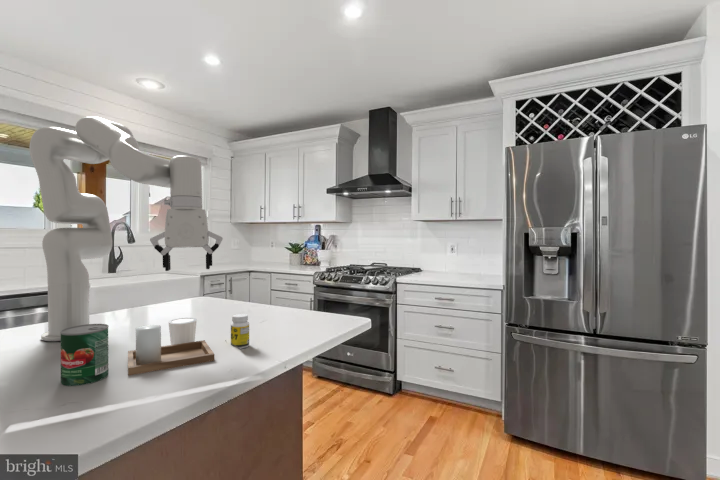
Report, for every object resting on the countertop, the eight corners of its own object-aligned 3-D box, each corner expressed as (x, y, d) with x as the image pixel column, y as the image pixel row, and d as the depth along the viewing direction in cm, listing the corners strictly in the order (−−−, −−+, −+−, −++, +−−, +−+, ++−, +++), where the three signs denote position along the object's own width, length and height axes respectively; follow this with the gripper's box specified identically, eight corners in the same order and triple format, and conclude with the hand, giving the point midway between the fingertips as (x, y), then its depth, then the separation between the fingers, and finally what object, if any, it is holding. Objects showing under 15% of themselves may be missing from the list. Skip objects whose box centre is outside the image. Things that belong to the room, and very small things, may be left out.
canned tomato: (54, 392, 70) (53, 335, 70) (67, 377, 78) (67, 325, 77) (104, 386, 74) (103, 331, 73) (112, 372, 81) (112, 322, 81)
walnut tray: (128, 360, 88) (127, 351, 88) (204, 348, 97) (204, 340, 97) (128, 379, 77) (128, 368, 77) (214, 364, 86) (214, 354, 86)
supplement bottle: (227, 346, 99) (227, 315, 99) (243, 342, 103) (243, 312, 103) (236, 350, 96) (236, 318, 96) (252, 346, 100) (252, 315, 99)
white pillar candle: (135, 361, 85) (135, 326, 85) (160, 357, 88) (160, 323, 88) (136, 367, 81) (135, 331, 81) (161, 363, 84) (161, 328, 84)
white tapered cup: (185, 351, 95) (185, 324, 95) (162, 349, 97) (162, 322, 97) (202, 343, 102) (202, 318, 102) (180, 341, 103) (180, 316, 103)
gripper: (146, 202, 91) (147, 272, 91) (221, 203, 96) (222, 269, 96) (152, 205, 98) (154, 269, 98) (222, 205, 103) (223, 267, 104)
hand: (188, 269), depth 97 cm, fingers open, 9 cm apart
